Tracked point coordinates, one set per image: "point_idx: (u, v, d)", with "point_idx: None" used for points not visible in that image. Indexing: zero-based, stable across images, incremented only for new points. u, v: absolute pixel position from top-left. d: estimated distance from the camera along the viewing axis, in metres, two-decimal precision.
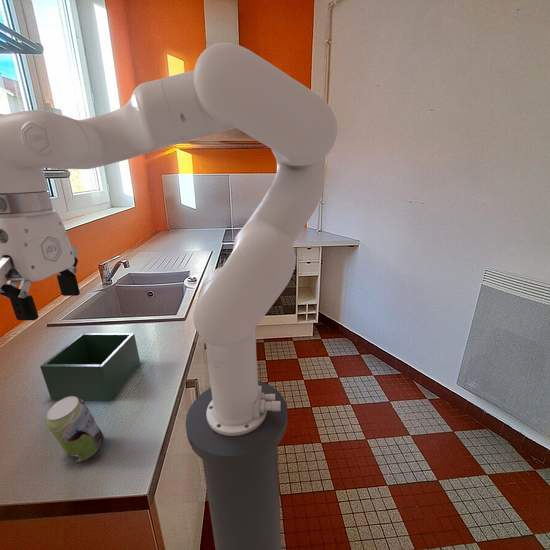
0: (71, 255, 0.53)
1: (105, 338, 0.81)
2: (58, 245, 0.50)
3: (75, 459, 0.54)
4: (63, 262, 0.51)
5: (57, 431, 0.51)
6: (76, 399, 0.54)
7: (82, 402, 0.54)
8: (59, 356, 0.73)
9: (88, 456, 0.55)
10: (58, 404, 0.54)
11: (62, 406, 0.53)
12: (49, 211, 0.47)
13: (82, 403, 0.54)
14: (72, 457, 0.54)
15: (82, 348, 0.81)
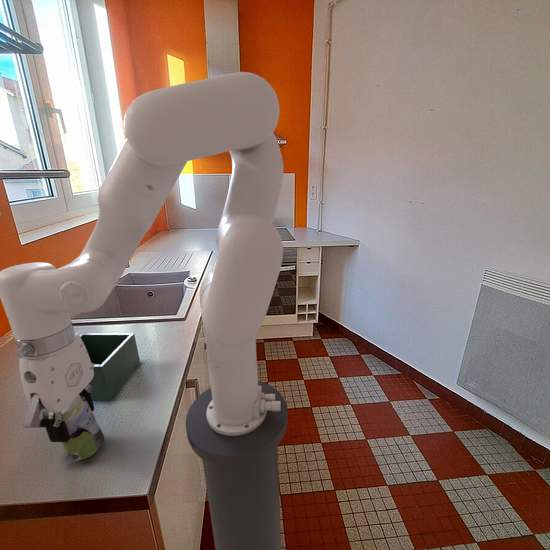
0: (91, 370, 0.56)
1: (105, 338, 0.81)
2: (80, 367, 0.53)
3: (74, 458, 0.54)
4: (84, 381, 0.54)
5: None
6: (78, 396, 0.55)
7: (84, 399, 0.55)
8: None
9: (88, 455, 0.55)
10: None
11: None
12: (73, 342, 0.50)
13: (83, 400, 0.55)
14: (72, 456, 0.54)
15: None
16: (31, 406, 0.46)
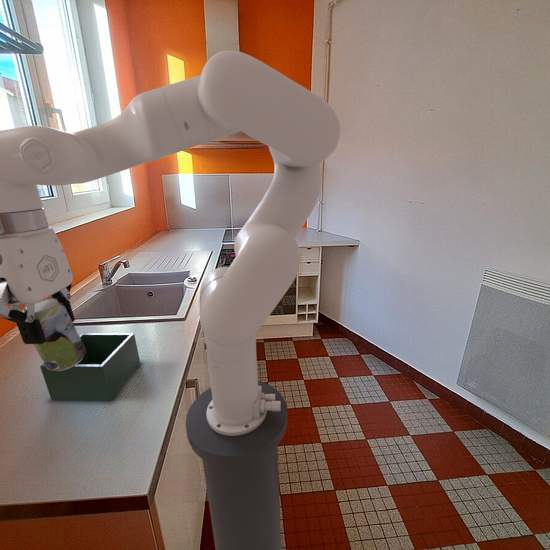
0: (69, 273, 0.51)
1: (105, 338, 0.81)
2: (55, 264, 0.48)
3: (53, 367, 0.50)
4: (61, 281, 0.49)
5: None
6: (55, 300, 0.50)
7: (61, 304, 0.50)
8: None
9: (68, 365, 0.50)
10: (35, 304, 0.49)
11: (39, 305, 0.49)
12: (45, 229, 0.45)
13: (61, 304, 0.50)
14: (50, 365, 0.49)
15: None
16: None
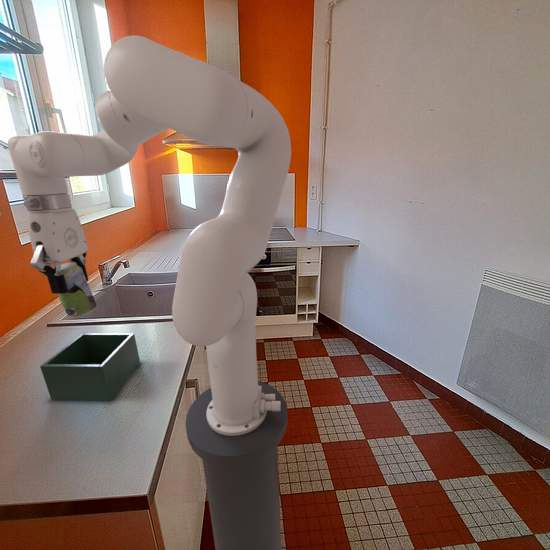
0: (85, 243, 0.67)
1: (105, 338, 0.81)
2: (76, 235, 0.64)
3: (72, 313, 0.66)
4: (79, 248, 0.65)
5: None
6: (74, 263, 0.66)
7: (79, 266, 0.67)
8: (59, 356, 0.73)
9: (83, 312, 0.67)
10: None
11: (63, 266, 0.65)
12: (69, 208, 0.61)
13: (79, 266, 0.66)
14: (69, 311, 0.66)
15: (82, 348, 0.81)
16: (36, 251, 0.58)
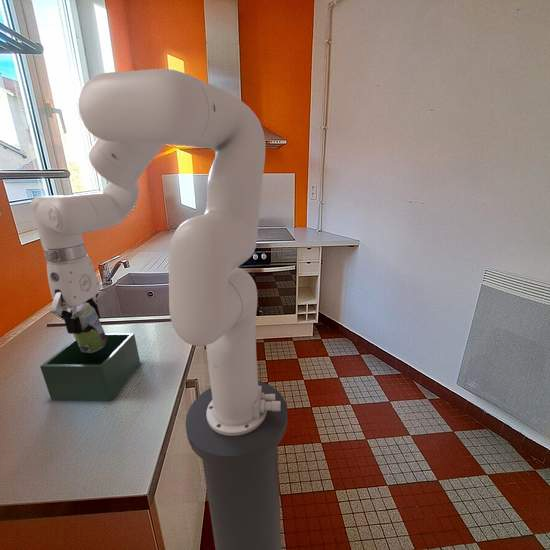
0: (97, 285, 0.73)
1: None
2: (89, 279, 0.70)
3: (85, 350, 0.72)
4: (93, 291, 0.71)
5: None
6: (88, 303, 0.72)
7: (92, 306, 0.72)
8: (59, 356, 0.73)
9: (95, 348, 0.73)
10: None
11: (77, 307, 0.71)
12: (84, 257, 0.67)
13: (92, 307, 0.72)
14: (83, 348, 0.72)
15: None
16: (55, 298, 0.64)
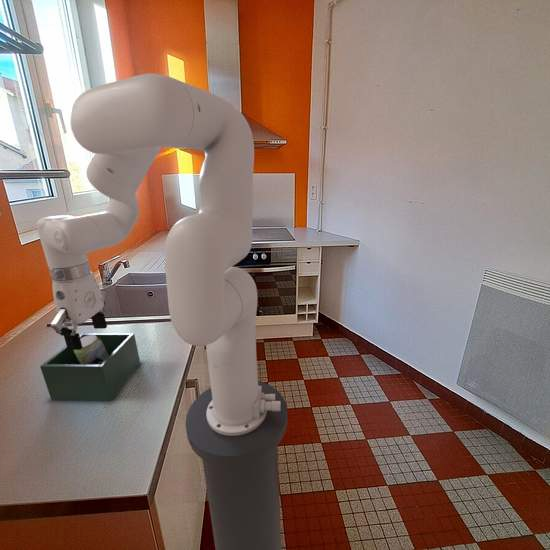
0: (102, 301, 0.75)
1: (105, 338, 0.81)
2: (94, 296, 0.71)
3: None
4: (97, 307, 0.72)
5: (82, 356, 0.71)
6: (95, 336, 0.74)
7: (99, 338, 0.75)
8: (59, 356, 0.73)
9: None
10: (82, 339, 0.74)
11: (85, 340, 0.73)
12: (89, 275, 0.69)
13: (99, 339, 0.74)
14: None
15: None
16: (58, 314, 0.64)
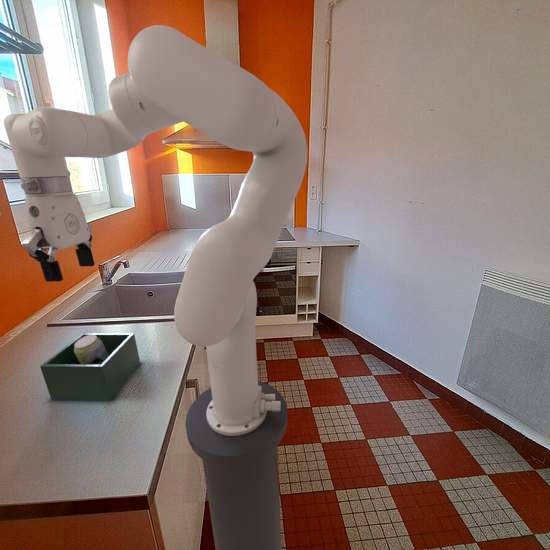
0: (87, 231, 0.64)
1: (105, 338, 0.81)
2: (77, 221, 0.61)
3: None
4: (81, 236, 0.62)
5: (82, 356, 0.71)
6: (95, 336, 0.74)
7: (99, 338, 0.75)
8: (59, 356, 0.73)
9: None
10: (82, 339, 0.74)
11: (85, 340, 0.73)
12: (70, 192, 0.58)
13: (99, 339, 0.74)
14: None
15: None
16: (32, 233, 0.54)
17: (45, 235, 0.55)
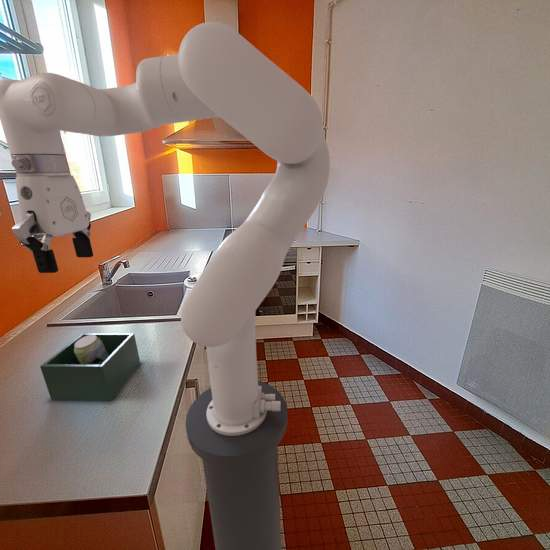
0: (86, 218, 0.58)
1: (105, 338, 0.81)
2: (75, 206, 0.55)
3: None
4: (79, 223, 0.56)
5: (82, 356, 0.71)
6: (95, 336, 0.74)
7: (99, 338, 0.75)
8: (59, 356, 0.73)
9: None
10: (82, 339, 0.74)
11: (85, 340, 0.73)
12: (67, 173, 0.52)
13: (99, 339, 0.74)
14: None
15: None
16: (24, 217, 0.47)
17: (39, 220, 0.49)
